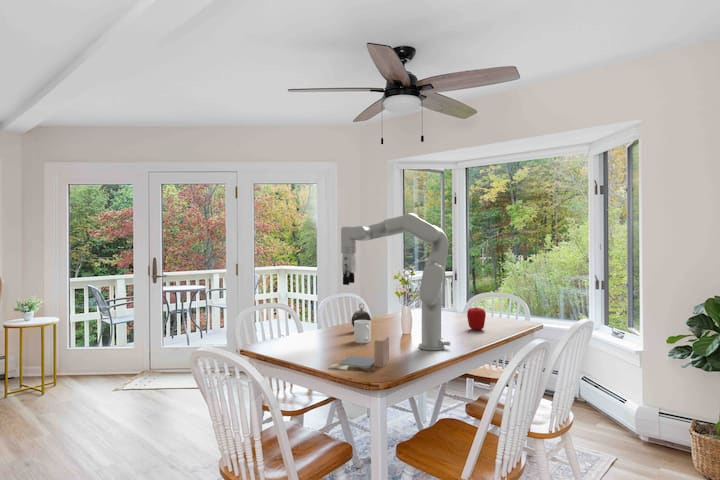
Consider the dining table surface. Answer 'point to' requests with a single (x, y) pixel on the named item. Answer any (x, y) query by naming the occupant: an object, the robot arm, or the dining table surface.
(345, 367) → the turner
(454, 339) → the dining table surface
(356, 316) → the alarm clock
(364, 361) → the mat
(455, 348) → the dining table surface
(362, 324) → the mug
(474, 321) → the red bell pepper
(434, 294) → the robot arm
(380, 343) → the tan wooden block
